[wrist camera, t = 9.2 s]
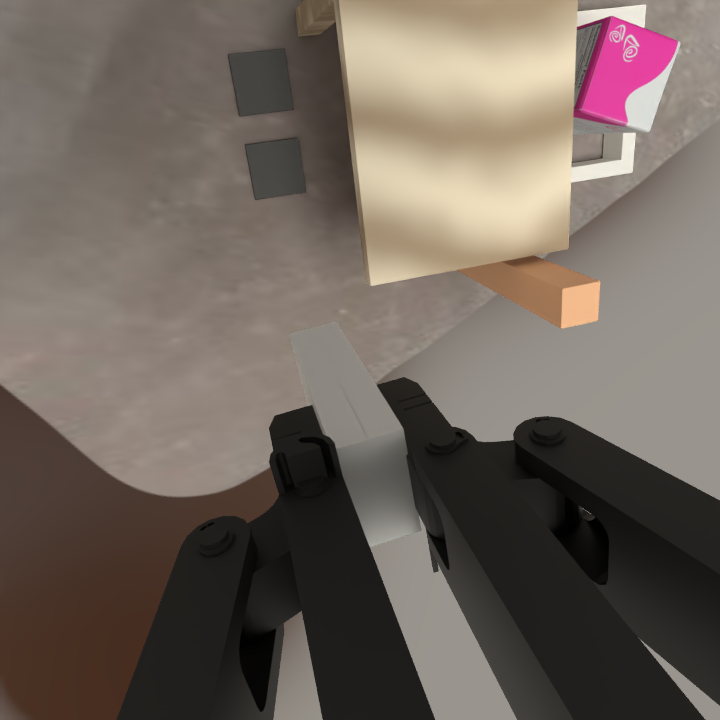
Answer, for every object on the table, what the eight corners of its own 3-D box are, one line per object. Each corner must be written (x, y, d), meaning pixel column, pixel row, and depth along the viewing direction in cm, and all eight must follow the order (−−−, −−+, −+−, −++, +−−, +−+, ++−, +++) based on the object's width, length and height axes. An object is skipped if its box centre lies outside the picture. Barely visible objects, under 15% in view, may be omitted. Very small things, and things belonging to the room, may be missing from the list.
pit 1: (228, 55, 39) (228, 54, 39) (283, 49, 40) (284, 48, 40) (239, 116, 41) (240, 116, 41) (292, 109, 42) (293, 109, 41)
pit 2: (245, 145, 42) (245, 145, 41) (297, 138, 43) (298, 138, 42) (255, 199, 43) (255, 199, 43) (305, 191, 44) (306, 192, 44)
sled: (424, 31, 42) (573, -36, 25) (624, 10, 45) (878, -62, 28) (438, 259, 49) (561, 328, 32) (609, 228, 52) (804, 275, 35)
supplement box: (578, 61, 46) (686, 42, 36) (554, 136, 48) (649, 138, 37) (518, 40, 44) (613, 12, 34) (495, 119, 46) (579, 116, 36)
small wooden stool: (294, 7, 39) (333, -47, 27) (472, -9, 42) (580, -65, 30) (327, 245, 46) (370, 285, 34) (478, 219, 49) (568, 248, 37)
